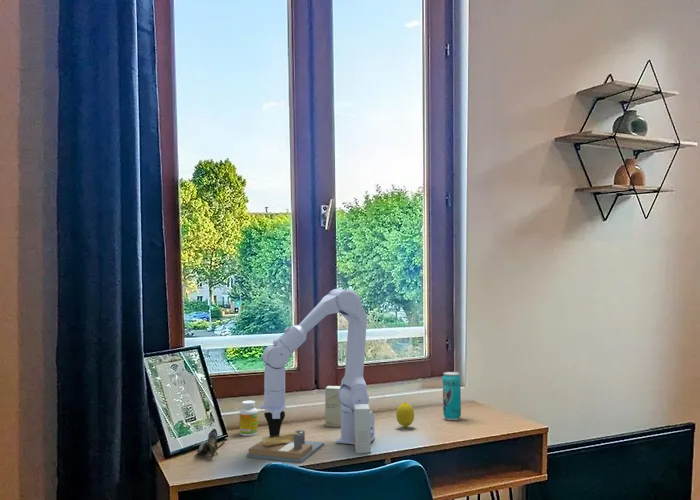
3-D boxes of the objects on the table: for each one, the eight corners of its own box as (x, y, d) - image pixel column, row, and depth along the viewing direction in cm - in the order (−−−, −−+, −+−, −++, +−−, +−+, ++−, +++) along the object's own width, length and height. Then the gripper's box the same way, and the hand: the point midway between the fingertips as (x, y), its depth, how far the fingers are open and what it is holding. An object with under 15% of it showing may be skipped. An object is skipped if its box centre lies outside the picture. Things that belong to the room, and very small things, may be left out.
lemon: (394, 429, 190) (393, 403, 190) (399, 424, 195) (399, 399, 195) (411, 430, 188) (411, 404, 188) (416, 426, 193) (416, 400, 193)
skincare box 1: (324, 426, 194) (324, 388, 194) (327, 423, 198) (327, 385, 199) (344, 427, 193) (344, 388, 193) (346, 423, 197) (346, 385, 198)
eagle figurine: (232, 452, 165) (223, 438, 172) (219, 433, 162) (210, 419, 170) (208, 471, 162) (199, 455, 170) (194, 452, 160) (186, 437, 167)
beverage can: (439, 418, 202) (438, 372, 203) (451, 416, 206) (451, 371, 206) (452, 422, 198) (451, 375, 198) (464, 419, 201) (463, 373, 201)
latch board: (324, 445, 174) (324, 423, 174) (301, 462, 159) (301, 439, 159) (273, 440, 179) (273, 419, 179) (246, 457, 164) (246, 434, 164)
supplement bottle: (254, 436, 184) (253, 404, 184) (237, 435, 185) (236, 403, 185) (260, 431, 189) (259, 400, 189) (243, 431, 190) (243, 399, 190)
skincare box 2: (354, 446, 172) (353, 403, 172) (369, 446, 172) (368, 403, 173) (355, 453, 166) (354, 408, 166) (371, 453, 166) (370, 408, 167)
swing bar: (301, 442, 173) (301, 429, 173) (306, 444, 171) (306, 431, 171) (262, 450, 167) (262, 436, 167) (266, 452, 164) (266, 439, 164)
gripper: (259, 384, 176) (258, 432, 176) (261, 395, 162) (260, 447, 161) (283, 384, 177) (283, 431, 177) (287, 394, 163) (287, 446, 163)
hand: (274, 439), depth 169 cm, fingers closed, pressing on swing bar
